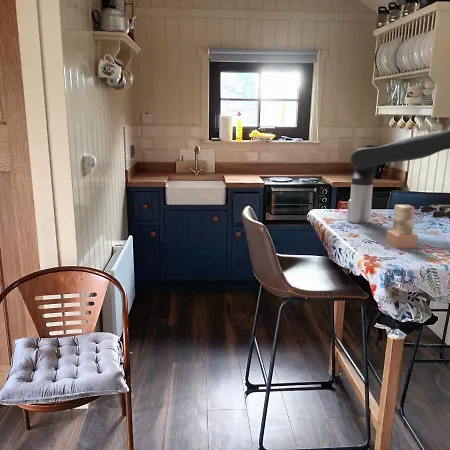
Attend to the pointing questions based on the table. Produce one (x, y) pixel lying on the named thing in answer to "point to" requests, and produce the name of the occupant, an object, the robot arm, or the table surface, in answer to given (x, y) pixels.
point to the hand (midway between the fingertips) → (427, 212)
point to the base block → (401, 239)
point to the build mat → (381, 240)
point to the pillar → (403, 219)
